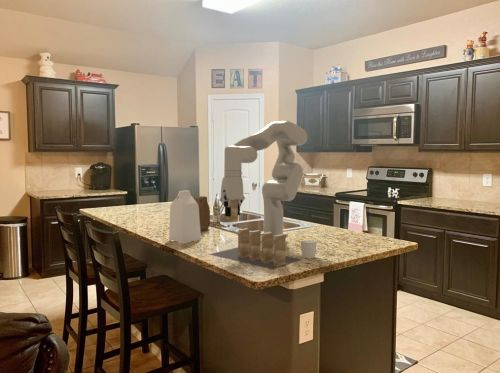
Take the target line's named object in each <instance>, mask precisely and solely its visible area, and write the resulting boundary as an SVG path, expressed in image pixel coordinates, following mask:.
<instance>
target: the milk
mask: <svg viewBox="0 0 500 373" xmlns="http://www.w3.org/2000/svg"><path fill="white" fill-rule="evenodd" d="M169 208H170V209H169V228H168V232H169V233H168V234H169V236H168V240H169V239H170V240H174V241H178V242H181V243H180V244H182V243H184V244H186V243H185V242H189V243H192V242H191V241H194V242H198V241H197V240H199V241H202V236H201V235H202V234H201V232H202V231H200V218H199V206H198V204H197V202H196V201H195V200H194V197H193V196H192V195H191V190H179V191H178V194H177V196H176V197H175V199H174V200H173V201H172V202H171V204H170V206H169Z"/></svg>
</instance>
